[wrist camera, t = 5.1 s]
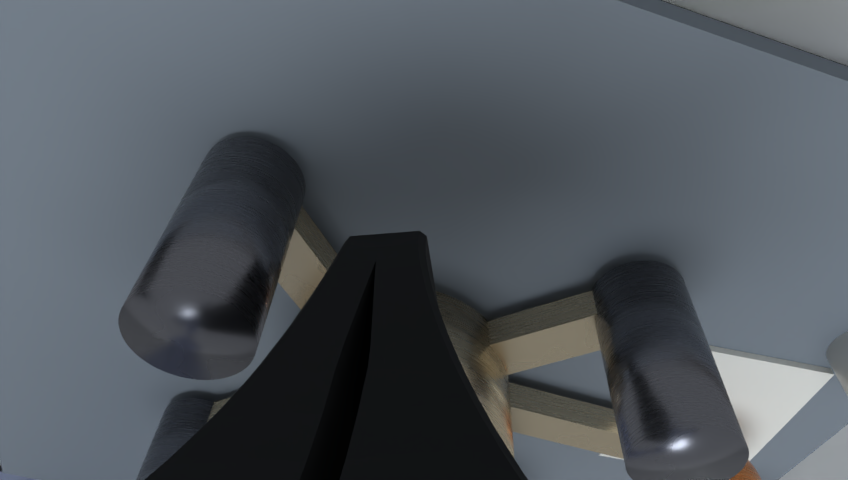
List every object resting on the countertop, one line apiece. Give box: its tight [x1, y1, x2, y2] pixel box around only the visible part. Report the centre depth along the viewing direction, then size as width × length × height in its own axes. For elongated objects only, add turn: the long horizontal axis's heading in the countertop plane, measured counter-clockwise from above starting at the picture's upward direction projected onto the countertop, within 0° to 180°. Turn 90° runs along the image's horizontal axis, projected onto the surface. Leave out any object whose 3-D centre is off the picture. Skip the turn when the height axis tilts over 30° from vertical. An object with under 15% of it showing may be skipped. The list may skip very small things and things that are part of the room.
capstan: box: [118, 137, 761, 480], centre depth 16 cm, size 16×16×4 cm
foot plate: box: [0, 0, 848, 480], centre depth 18 cm, size 21×24×1 cm
